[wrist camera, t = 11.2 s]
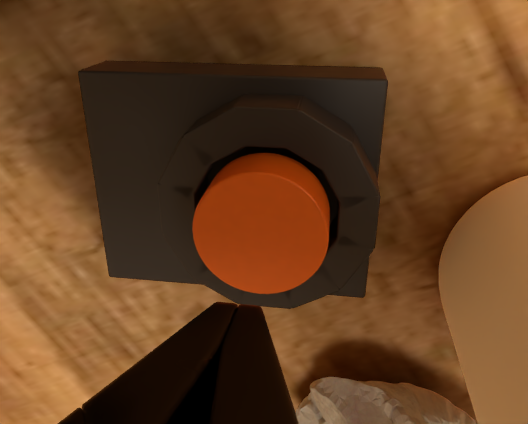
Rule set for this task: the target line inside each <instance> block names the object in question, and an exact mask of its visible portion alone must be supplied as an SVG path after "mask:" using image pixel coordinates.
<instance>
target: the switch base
mask: <svg viewBox="0 0 528 424" xmlns="http://www.w3.org/2000/svg"><path fill="white" fill-rule="evenodd" d="M78 75H79V81H80V88H81V94H82V101H83V107H84V114H85V121H86V127H87V134H88V140H89V147H90V154H91V160H92V167H93V173H94V180H95V186H96V193H97V200H98V206H99V213H100V219H101V226H102V232H103V239H104V246H105V252H106V259H107V265H108V272H109V276H110V277H117V278H129V279H142V280H154V281H166V282H178V283H191V284H203V285H205V286H207V287H209V288H211V289H212V290H214V291H216V292H218V293H219V294H221V295H223V296H225V297H227V298H228V299H230V300H232V301H234V302H235V303H237V304H245V305H255V306H265V307H276V308H288V309H291V308H295V307H298V306H300V305H303V304H306V303H308V302H311V301H313V300H316V299H319V298H321V297H324V296H326V295H337V296H349V297H362V298H363V297H365V293H366V284H367V274H368V265H369V256H370V254H371V253H372V251H373V249H374V248H375V240H376V231H377V222H378V213H379V204H380V193H379V187H378V171H379V162H380V153H381V143H382V134H383V125H384V115H385V106H386V97H387V87H388V80H387V78H386V75H385V73H384V71H383V69H382V68H370V67H331V66H293V65H254V64H215V63H177V62H138V61H104V62H101V63H99V64H96V65H93V66H91V67H88V68H85V69H82V70H80V71H79V72H78ZM254 153H275V154H279V155H284V156H287V157H289V158H292V159H294V160H296V161H298V162H300V163H301V164H303V165H304V166H305V167H307V168H308V169H309V170H310V171H311V172H312V173H313V174H314V175H315V176H316V177H317V178H318V179H319V181H320V183H321V184H322V186H323V187H324V190H325V192H326V194H327V197H328V201H329V207H330V225H329V242H328V249H327V252H326V256H325V258H324V260H323V262H322V264H321V266H320V267H319V269H318V270H317V271H316V272H315V273H314V274H313V276H311V277H310V278H309V279H308V280H307V281H305V282H304V283H302V284H301V285H299V286H297V287H295V288H293V289H290V290H287V291H284V292H280V293H273V294H258V293H251V292H247V291H243V290H240V289H237V288H235V287H233V286H231V285H229V284H227V283H225V282H224V281H222V280H221V279H219V278H218V277H217V276H216V275H214V274H213V273H212V272H211V271H210V270H209V269H208V267H207V266H206V265H205V264H204V262H203V261H202V259H201V257H200V256H199V254H198V251H197V249H196V246H195V243H194V239H193V232H192V227H193V217H194V213H195V210H196V207H197V205H198V203H199V201H200V199H201V198H202V196H203V195H204V193H205V191H206V190H207V188H208V187H209V185H210V183H211V182H212V180H213V179H214V177H215V176H216V174H217V173H218V172H219V171H220V170H221V169H222V168H223V167H224V166H226V165H227V164H228V163H230V162H231V161H233V160H235V159H237V158H239V157H242V156H245V155H248V154H254Z"/></svg>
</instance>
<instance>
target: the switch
mask: <svg viewBox="0 0 528 424" xmlns="http://www.w3.org/2000/svg"><path fill="white" fill-rule="evenodd" d="M329 225H330V207H329V201H328V197H327V194H326V192H325V190H324V187H323V186H322V184H321V183H320V181H319V179H318V178H317V177H316V176H315V175H314V174H313V173H312V172H311V171H310V170H309V169H308V168H307V167H305V166H304V165H303V164H301V163H300V162H298V161H296V160H294V159H292V158H289V157H287V156H284V155H279V154H275V153H254V154H248V155H245V156H242V157H239V158H237V159H235V160H233V161H231V162H230V163H228V164H227V165H226V166H224V167H223V168H222V169H221V170H220V171H219V172H218V173H217V174H216V176H215V177H214V179H213V180H212V182H211V183H210V185H209V187H208V188H207V190H206V191H205V193H204V195H203V196H202V198H201V199H200V201H199V203H198V205H197V207H196V210H195V213H194V217H193V227H192V232H193V239H194V243H195V246H196V249H197V251H198V254H199V256H200V257H201V259H202V261H203V262H204V264H205V265H206V266H207V267H208V269H209V270H210V271H211V272H212V273H213V274H214V275H216V276H217V277H218V278H219V279H221V280H222V281H224V282H225V283H227V284H229V285H231V286H233V287H235V288H237V289H240V290H243V291H247V292H251V293H258V294H273V293H280V292H284V291H287V290H290V289H293V288H295V287H297V286H299V285H301V284H302V283H304V282H305V281H307V280H308V279H309V278H310V277H311V276H313V274H314V273H315V272H316V271H317V270H318V269H319V267H320V266H321V264H322V262H323V260H324V258H325V256H326V252H327V249H328V242H329Z"/></svg>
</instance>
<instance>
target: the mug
mask: <svg viewBox="0 0 528 424" xmlns="http://www.w3.org/2000/svg"><path fill="white" fill-rule="evenodd" d="M439 291H440V297H441V303H442V307H443V310H444V314H445V317H446V320H447V324H448V327H449V330H450V334H451V337H452V340H453V343H454V347H455V350H456V353H457V357H458V360H459V363H460V367H461V370H462V373H463V376H464V380H465V383H466V386H467V390H468V393H469V396H470V399H471V403H472V406H473V409H474V413H475V416H476V419H477V423H478V424H528V175H527V176H523V177H520V178H517V179H515V180H513V181H510V182H508V183H506V184H503V185H502V186H500V187H498V188H496V189H495V190H493V191H491V192H490V193H488V194H487V195H485V196H484V197H482V198H481V199H480V200H478V201H477V202H476V203H475V204H474V205H473V206H472V207H471V208H469V209H468V210H467V211H466V213H465V214H464V215H463V216H462V217H461V218H460V220H459V221H458V222H457V223H456V225H455V226H454V228H453V229H452V231H451V232H450V234H449V236H448V238H447V240H446V242H445V244H444V247H443V250H442V253H441V257H440V263H439Z"/></svg>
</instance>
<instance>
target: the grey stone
mask: <svg viewBox="0 0 528 424" xmlns="http://www.w3.org/2000/svg"><path fill="white" fill-rule="evenodd" d="M310 390H311V392H310V393H309V395H308V396H307V397H306V398H304V399H303V401H302V403H301V404H300V405H299V406H298V408H297V411H296V416H297V419H298V422H299V424H478V423H476V421H475V420H474V419H473V418H472V417H471V416H469V415H468V414H467V413H466V412H465V411H463V410H462V409H460V408H458V407H456V406H454V405H453V404H452V403H451V402H450V401H449V400H448V399H447V398H445V397H443V396H441V395H439V394H438V393H436V392H434V391H432V390H429V389H425V388H422V387H418V386H415V385H413V384H410V383H401V382H400V383H399V384H392V383H387V382H383V381H366V382H363V381H354V380H350V379H345V378H339V377H327V378H321V379H318V380H315V381H314V382H312V383H311V385H310Z"/></svg>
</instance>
